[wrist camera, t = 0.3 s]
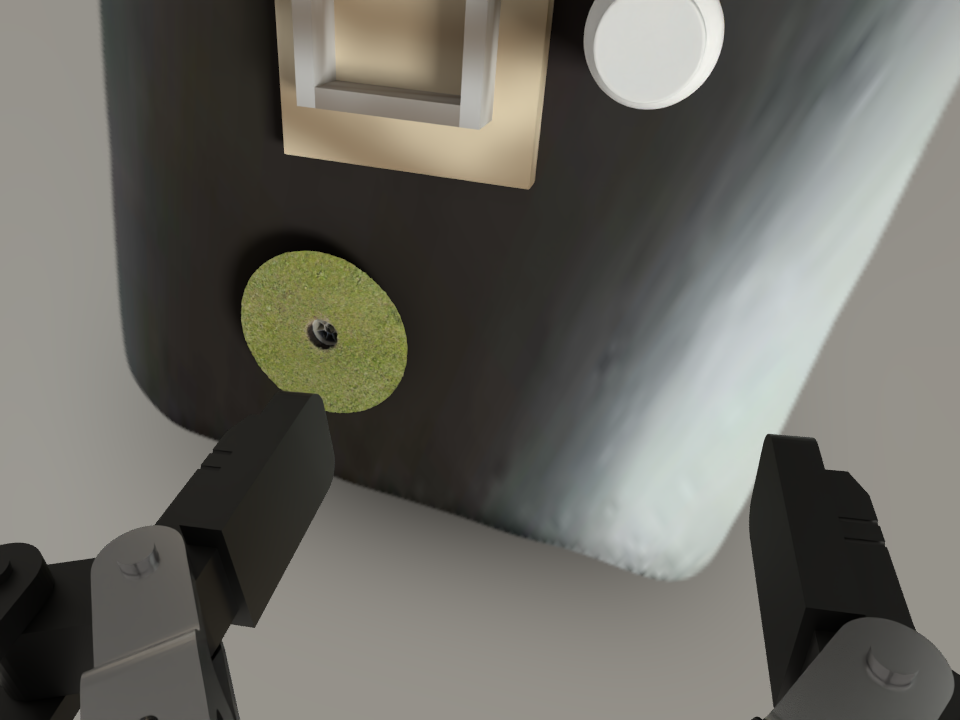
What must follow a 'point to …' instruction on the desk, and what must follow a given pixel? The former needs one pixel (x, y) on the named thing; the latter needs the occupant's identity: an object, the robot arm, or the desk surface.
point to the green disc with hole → (324, 330)
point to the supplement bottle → (652, 48)
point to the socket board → (416, 84)
